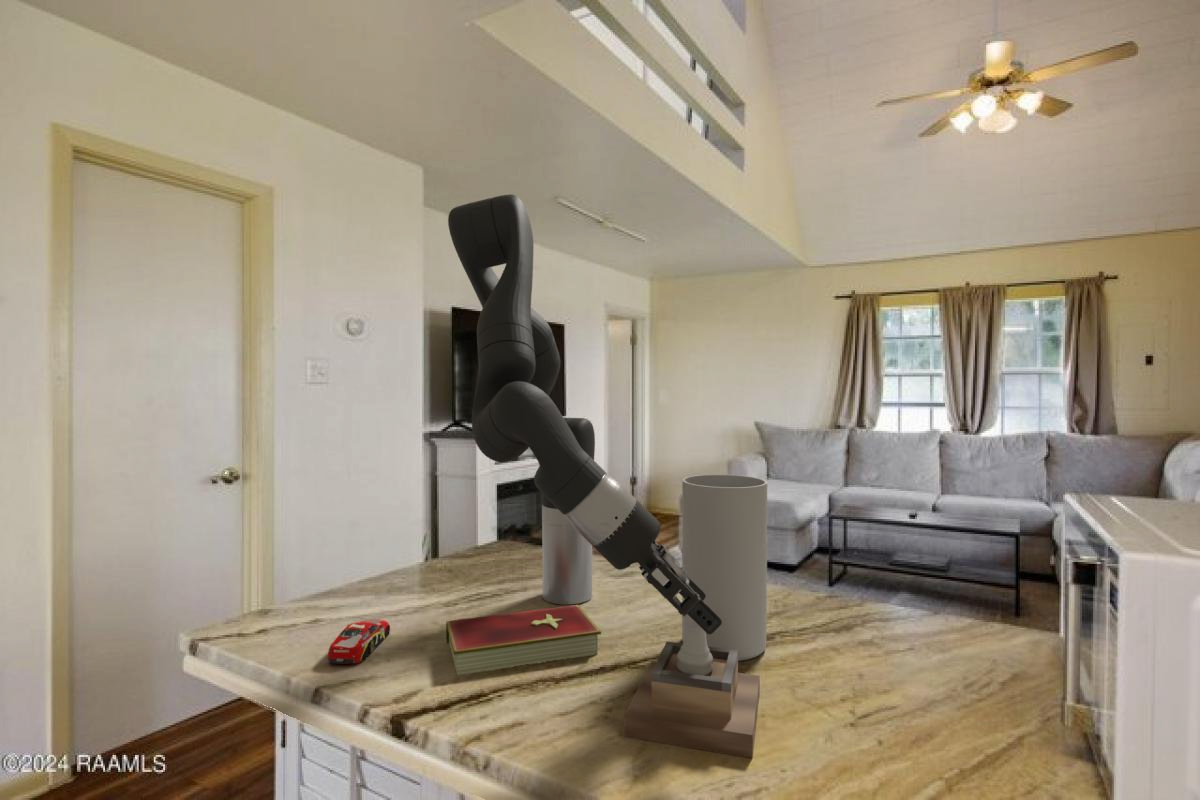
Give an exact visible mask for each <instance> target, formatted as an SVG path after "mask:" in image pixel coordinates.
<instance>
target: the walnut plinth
mask: <svg viewBox="0 0 1200 800" xmlns="http://www.w3.org/2000/svg"><path fill="white" fill-rule="evenodd" d="M682 645H683V642H681V643H680V642H674V641H667V640H666V642H665V644H664V646H663V648H662V650H661V652H660V654H659V656H658V658H657V660H656V661H651V662H650V665H649V666H648V668H647V670H646V672H645V674H644V676H643V677H642V680H641V682H640V684H639V686H638V688H637V690H636V692H635V694H634V696H633V697H632V699H631V702H630V704H629V706H628V707H627V710H626V712H625V714H624V737H626V738H627V737H628V738H633V739H638V740H644V741H650V742H655V743H662V744H667V745H671V746H672V745H673V746H677V747H678V746H680V747H684V748H690V749H696V750H701V751H702V750H703V751H707V752H713V753H721V754H725V755H731V756H738V757H742V758H747V759H753V757H754V749H755V741H756V740H755V739H756V729H757V721H758V711H759V704H760V693H761V691H760V681H761V680H760V679H761V678H760V677H761V676H760V675H758V674H751V673H742V672H739V661H738V650H732V649H724V648H716V647H708V648H709V650H710V651H709V652H710V653H711V654H712V656H713V662H712V664H713V666H714V668H713V670H712V671H711V673H710V674H708V675H707V676H703V675H695V674H688V673H682V672H680V671H679V669H678V668H677V665H676V663H677V662H678V659H677V654H678V652H679V651H680V650H681V646H682Z"/></svg>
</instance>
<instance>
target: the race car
mask: <svg viewBox="0 0 1200 800" xmlns="http://www.w3.org/2000/svg"><path fill="white" fill-rule="evenodd" d="M390 631H391V625H390V624H389V622H388V621H386V620H383V619H377V618H376V619H375V618H374V619H365V620H362V621H359V622H358V621H357V622H356V621H355V622H352V623H349V624H347V626H345V628H344V629H343V630H342V631H340V633H339V634H338V636H337V637H336V638H335V639H334V640H333V642H331V644H330V646H329V648H328V652H327V653H328V654H327V662H328V663H329V664H333V665H334V664H338V665H339V664H343V665H345V664H347V665H348V664H349V665H351V664H358V663H361V662H364V661H366V659H368V658H369V656H370V655H371V654H372V653H374V651H375V650H376V648H378V647H379V645H381V644H382V642H383V641H384V640H385V639H387V637H389V636H390V633H391V632H390ZM388 635H389V636H388Z"/></svg>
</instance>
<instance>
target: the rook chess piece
mask: <svg viewBox="0 0 1200 800" xmlns="http://www.w3.org/2000/svg"><path fill="white" fill-rule="evenodd" d="M685 618H686V619H685V621H684V625H685V635H684V642H683V641H682V643H683V645H682V646H681V650H680V651H679V652H678V654H677V659H678V662H677V663H676V665H677V668H678V669H679V671H680V672H682V673H688V674H695V675H703V676H707V675H708V674H710V673H711V671H712V670H713V668H714V666H713V664H712V662H713V656H712V654H711V653H710V652H709V651H710V650H709V648H708V646H707V641H706V632H705V631H704V630H703V629H702V628H701V627H700V626H699V625H698V624H697V623H696V622H695V621H694V620H693V619H692V618H691V617H690V616H689V615H688V614H686V615H685Z"/></svg>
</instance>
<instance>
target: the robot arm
mask: <svg viewBox="0 0 1200 800" xmlns="http://www.w3.org/2000/svg"><path fill="white" fill-rule="evenodd" d="M447 220H448V221H447V222H448V223H447V225H448V229H449V235H450V237H451V241H452V244H453V246H454V249H455V251H456V253H457V256H458V257H457V258H458V259H459V261H460V263H461V266H462V267H463V269H464V271H465V274H466V276H467V278H468V280H469V282H470V284H471V286H472V288H473V290H474V292H475V294H476V297H477V299H478V300H479V304H480V306H481V307H482V308H481V311H480V314H479V317H478V321H477V327H476V340H477V342H476V343H477V360H478V361H477V362H478V377H477V382H476V386H475V391H474V399H473V404H472V413H471V414H472V415H471V429H472V430H471V431H472V435H473V438H474V439H473V440H474V441H475V444H476V446H477V448H478V449H479V450H480V452H481V453H482V454H483V455H484V456H485V457H487V458H488V459H489V460H491V461H494V462H498V463H508V462H511V461H513V460H516V459H518V458H519V457H520V456H522V455H523V454H524V453H525V452H526V451H527V450H528V449H530V451H531V452H532V454H533V456H534V457H535V459H536V461H537V463H538V465H539V466H538V468H537V470H536V472H535V474H534V478H533V482H534V485H535V486H536V488H537V489H538V491H539V492H540V493H541V516H542V517H541V520H542V522H541V524H542V527H541V528H542V529H541V530H542V531H541V532H542V534H541V535H542V536H541V538H542V539H541V541H542V542H541V543H542V545H541V546H542V555H541V556H542V559H541V560H542V568H541V569H542V580H541V581H542V598H543V600H544V601H546V602H548V603H550V604H555V605H574V604H575V605H578V604H582V603H584V602H585V603H586V602H587V601H590V600H591V599H592V597H593V548H594V549H595V550H596V551H597V552H598V553H599V554H600V555H601V556H602V557H603V558H604V559H605V560H606V561H607V562H609V563H610V565H611V566H612V567H614V569H616V570H619V571H620V570H621V571H622V570H625V569H628V568H629V567H631V565H632V564H639V566H638V568H639V570H640V571H641V573H640V574H641V576H642V577H643V579H644V580H646V581H647V583H648V584H649V585H652V587H654V588H655V589H656V591H657V592H659V594H660V595H661V596H662V597H663V598H664V599H666V600H667V602H669V603H670V604H671V605H672V606H673V607H674V608H675V609H676V610H677V613H679V615H680V616H682V615H683V616H685V615H686V614H688V615H689V616H690V617H691V618H692V619H693V620H694V621H695V622H696V623H697V624H698V625H699V626H700V627H701V628H702V629H703V630H704V631H705V632H706V633H707V634H712V633H713V632H714V631H715V630H716V629H717V628H718V627H719V626H720V625H721V624H722V621H721V619H720V617H719V616H718V615H717V614H716V613H715V612H714V611H713V610H712V609H711V608H710V607H709V606H708V605H707V604H706V603H704V602H703V600H704V599H705V597H706V595H705V593H704V592H703V591H702V590H701V589H700V588H699V587H698V586H697V585H696V584H695V583H694V582H693V581H692V580H691V579H690V578H689V577H688V576H687V575H685V572H684V569H683V568H682V566H681V564H680V562H679V561H678V560H677V558H676V557H675V556H673V555H672V553H671V552H670V551H669V550H668V548H667V547H666V546H665V545H663V543H661V544H659V543H658V542H656V540H657V538H658V537H659V534H660V532H661V527H662V526H661V523H660V521H659V520H658V519H657V518H656V517H655V516H654V515H653V514H652V513H651V512H650V511H649V510H648V509H647V508H646V507H645V506H644V505H643V504H642V503H641V502H640V501H639V500H638V499H637V498H636V497H635V496H634V495H633V494H632V493H630V491H629V490H628V489H627V488H625V487H624V486H623V485H622V484H621V482H620V481H618V480H616V479H615V478H614V477H612V476H611V475H610V474H608V472H606V471H605V470H604V469H603V468H602V466H600V465H599V464H598V463H597V462H596V461H595V454H596V453H595V450H596V446H595V445H596V438H595V437H596V435H595V429H594V425H593V423H592V421H591V420H589V419H588V418H584V417H564V416H563V415H562V413H561V412H560V410H559V408H558V406H557V405H556V403H555V401H553V400H552V398H551V397H550V394H551V393H552V390H553V388H554V386H555V384H556V381H557V379H558V375H559V373H560V370H561V369H560V368H561V357H560V352H559V350H558V346H557V342H556V340H555V337H554V334H553V331H552V328H551V326H550V325H549V323H548V321H546V319H545V318H544V317H543V316H541V315H540V313H538V312H537V311H536V310H534V308H532V292H533V279H534V278H533V276H534V237H533V229H532V224H531V221H530V217H529V213H528V210H527V209H526V206H525V204H524V203H523V201H522V200H521V198H519V196H518V195H516V194H504V195H497V196H494V197H490V198H489V197H488V198H486V199H485V198H484V199H481V200H477V201H473V202H468V203H465V204H464V203H463V204H462V205H458V206H455V207H453V208H452V209H451V210H450V211H449V213H448V217H447ZM502 265H505V267H504V269H503V271H502V274H501V275H500V277H498V275H497V274H496V273H495V271H494V270H493V267H498V266H502ZM609 563H608V564H609ZM680 566H681V567H680ZM678 594H679V595H680V596H681V598H682V597H683V598H684V599H685V600H684V601H683V602H682V601H681V600H680V599H679V598H678Z"/></svg>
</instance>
